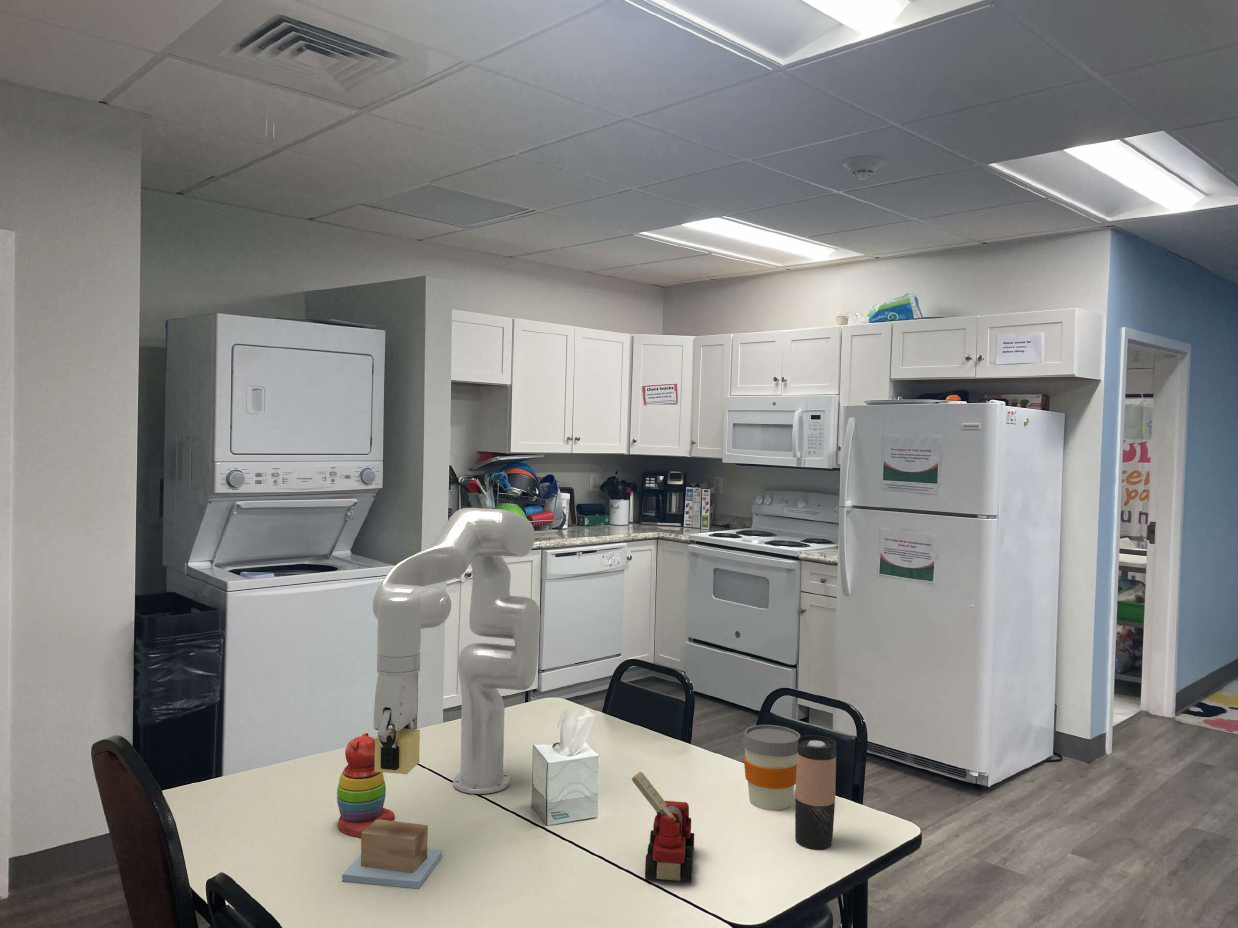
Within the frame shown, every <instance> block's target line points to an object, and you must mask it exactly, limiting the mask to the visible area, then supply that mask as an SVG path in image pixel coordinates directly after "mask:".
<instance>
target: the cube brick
mask: <svg viewBox="0 0 1238 928" xmlns="http://www.w3.org/2000/svg"><path fill="white" fill-rule="evenodd" d="M394 728H395V727H392V726H389V728H388V729H394ZM420 733H421V729H417V728H416V729H415V728H414V729H405V728H402V729H401V730H400V731H399V737H398V744H397V747H399V768H398V769H397V770H388V769H381V747H380V740H379V737H378V735H377V736H376V737H375V738H374V739H375V769H374V772H383V773H387V774H399V775H408V774H409V773H410V772H411V771H412V770H413V769H414V768H415V767H416V766H417V765H418V764H419V763H420V747H421V746H420V742H421V741H420V740H421V738H420V737H421V735H420ZM388 735H390V736H391V737H392V739H393V736H394V733H388Z"/></svg>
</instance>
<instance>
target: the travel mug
mask: <svg viewBox="0 0 1238 928" xmlns="http://www.w3.org/2000/svg"><path fill="white" fill-rule="evenodd" d="M836 775H837V742H836V741H835V739H833V738H830V737H827V736H824V735H823V736H822V735H818V734H817V735H815V734H807V735H802V736H800V738H798V744H797V768H796V784H795V794H794V797H795V798H794V799H795V802H794V804H795V806H794V808H795V811H794V814H795V815H794V816H795V817H794V819H795V821H794V828H795V829H794V832H795V833H794V835H795V842H796V844H798V845H799V846H801V847H803V848H806V849H809V850H813V851H814V850H815V851H817V850H818V851H819V850H822V851H823V850H827V849H829V848H831V847H832V845H833V840H834V839H833V837H834V821H835V808H836V781H837V780H836V778H837V776H836Z"/></svg>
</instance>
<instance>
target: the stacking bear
mask: <svg viewBox="0 0 1238 928" xmlns="http://www.w3.org/2000/svg"><path fill="white" fill-rule="evenodd" d="M344 751H345V752H344V753H345V754H344V755H345V759H346V760H345V761H346V763H347V765H346V766H345V767H344V769H343V771H341V773H340V776H339V780H338V786H337V791H336V803H337V807H338V811H339V815H340V816H339V818H338V821H337V828H338V829H339V830H340V832H342V833H343V834H347V835H349V836H352V837H358V838H361V833H362V832H363V831H364V830H365V829H367V828H368V827H369V826H370V825H371V824H372V823H373V822H375V821H376V820H377V819H380V820H388V821H395V818H396V816H395V812H393V810H391V809H388V808H386V807H385V808H384V804H385V802H386V801H385V799H386V795H387V793H386V791H387V787H386V782H385V777H384V772H374V769H375V738H374V737H373V736H369V732H365V733H363V734H362V735H360V736H357V737H355V738H352V739H351V740H350V741H349V742H348V743H347V745H346V747H345V750H344Z"/></svg>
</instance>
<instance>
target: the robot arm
mask: <svg viewBox="0 0 1238 928" xmlns="http://www.w3.org/2000/svg"><path fill="white" fill-rule="evenodd" d="M535 539H536V535H535V528H534V526H533V524H532V522H531V521H530V520H529V519H528V518H527V517H523V516H522V515H519V514H517V513H514V512H512V511H510V510H508V509H507V510H506V509H500V508H483V507H482V508H481V507H463V508H461V509H458V510H456V511H455V512H453V514H452V515H451V516H450V518H449V519H448V520H447V522H446V523H445V525H444V526H443V527H442V530H441V531H440V533H439V534H438V536H437V537H436V538H435V540H434V541H433V543H432V544H431V546H430V547H428V548H426V549H423V550H421V551H419V552H417V553H415V554H412V555H411V556H409V557H407V558H405V559H403V560H401V561H400V562H398V563H397V564H396V565H394V566H393V567H392V568H391V569H390V570H389V571H388V572H387V574H386V575H385V577H384V578H383V580H382V581H381V582H380V584H379V586H378V588H377V590H376V591H375V594H374V596H373V601H372V612H373V614H374V617H375V619H376V620H377V641H376V642H377V643H376V644H377V647H376V648H377V651H376V652H377V653H376V672H377V674H378V675H377V679H376V686H375V693H374V704H373V705H374V707H373V723H372V724H373V725H372V726H373V729H374V730H375V731H377V736H378V737H379V740H380V747H381V769H388V770H397V769H398V768H399V747H397V744H398V737H399V731H400V730H401V729H402V728H405V729H415V727H414V726H415V725H414V722H415V718H416V717H417V715H418V709H419V707H418V706H419V685H418V684H419V681H418V672H420V671H421V645H422V644H421V642H422V641H421V640H422V639H421V638H422V636H421V633H422V630H424V629H433V628H437V627H439V626H441V625H443V624H444V623H445V622H446V620H447V619H448V618H449V616H450V614H451V611H452V599H451V597H450V595H449V594H448V592H447V591H446V590H444V589H443V588H440V587H437V586H430V585H434V584H435V585H436V584H440V583H445V582H447V581H450V580H455V579H456V578H459V577H461V576H462V575H464V574H465V572H467V570H468V568H469V566H470V567H471V570H472V571H471V572H472V585H471V595H470V606H469V628H470V631H471V632H472V634H474V635H476V636H479V637H486V638H494V639H505V640H513V641H514V645H508V644H498V643H488V642H487V643H486V642H485V643H484V642H476V643H470V644H468V645H467V646H465V647H463V648H462V650H461V651H460V652H459V656H458V660H457V670H458V677H459V683H460V690H461V691H460V692H461V722H460V723H461V724H460V726H461V727H460V729H461V730H460V731H461V732H460V770H459V771H460V773H458V774H456V775H455V776H454V777H453V780H452V782H453V783H452V784H453V787H454V788H455V789H456V790H457V791H460V792H462V793H466V794H471V795H486V794H487V795H488V794H493V793H497V792H500V791H503V790H505V789H506V788H507V787H509V785H510V783H511V777H510V775H509V774H508V773H507V772H505V771H504V757H505V756H504V751H505V749H504V747H505V746H504V745H505V710H506V709H505V704H504V699H503V698H502V695H501V694H500V692H499V690H498V689H500V690H501V689H502V690H509V691H510V690H512V691H514V690H515V691H525V690H529V689H531V687H532V686H533V685H534V682H535V679H536V676H537V669H538V657H539V645H540V644H539V643H540V631H541V629H540V628H541V612H540V609H539V608H540V607H539V605H538V603H537V602H536V601H535V599H532V598H531V597H527V596H518V595H517V596H516V595H511V593H510V592H511V591H510V590H511V578H512V577H511V575H512V574H511V571H510V568H509V566H508V564H507V562H506V560H505V559H504V557H516V558H517V557H525V556H527V555H528V554H530V553H531V551H532V550H533V547H534V544H535V542H536V540H535ZM389 727H393V728H394V729H388V728H389ZM388 733H394V736H393V739H392V737H391V736H390V735H388Z"/></svg>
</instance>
